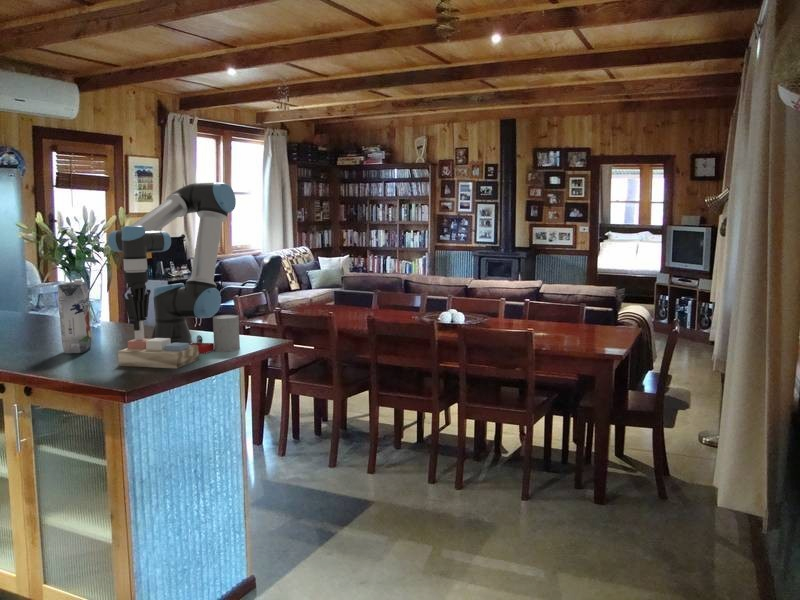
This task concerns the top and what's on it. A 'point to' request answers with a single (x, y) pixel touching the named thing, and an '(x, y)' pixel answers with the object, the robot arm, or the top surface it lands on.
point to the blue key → (176, 346)
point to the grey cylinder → (226, 333)
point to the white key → (157, 343)
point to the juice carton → (74, 316)
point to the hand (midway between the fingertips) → (139, 339)
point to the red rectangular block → (203, 345)
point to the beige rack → (158, 357)
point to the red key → (137, 344)
